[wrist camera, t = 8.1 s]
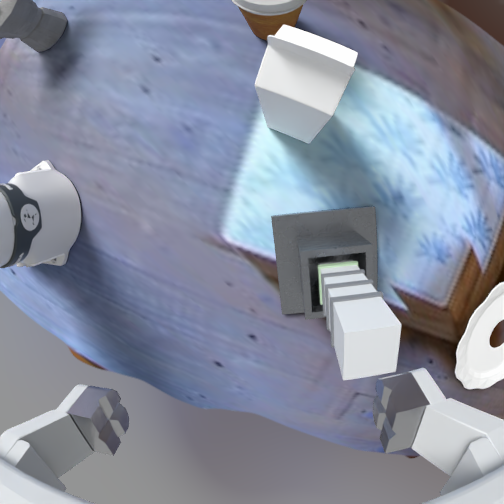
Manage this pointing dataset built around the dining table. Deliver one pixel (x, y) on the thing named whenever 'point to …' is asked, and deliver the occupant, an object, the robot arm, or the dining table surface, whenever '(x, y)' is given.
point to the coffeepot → (31, 23)
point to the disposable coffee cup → (269, 14)
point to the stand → (320, 252)
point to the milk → (302, 81)
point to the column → (358, 321)
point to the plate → (482, 344)
